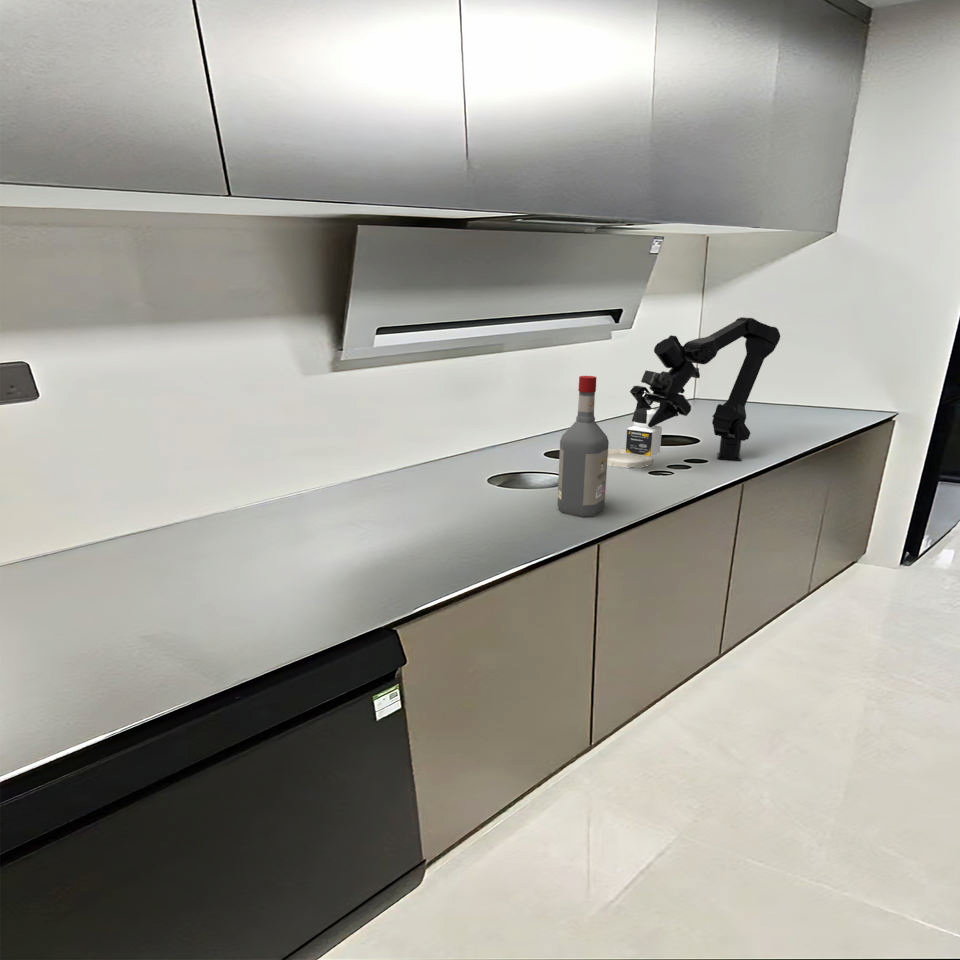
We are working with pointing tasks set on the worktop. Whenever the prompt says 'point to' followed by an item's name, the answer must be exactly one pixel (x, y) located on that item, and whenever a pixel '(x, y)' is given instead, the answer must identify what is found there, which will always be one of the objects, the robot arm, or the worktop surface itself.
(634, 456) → the coaster
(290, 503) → the worktop surface
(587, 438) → the liquor
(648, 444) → the medicine bottle
